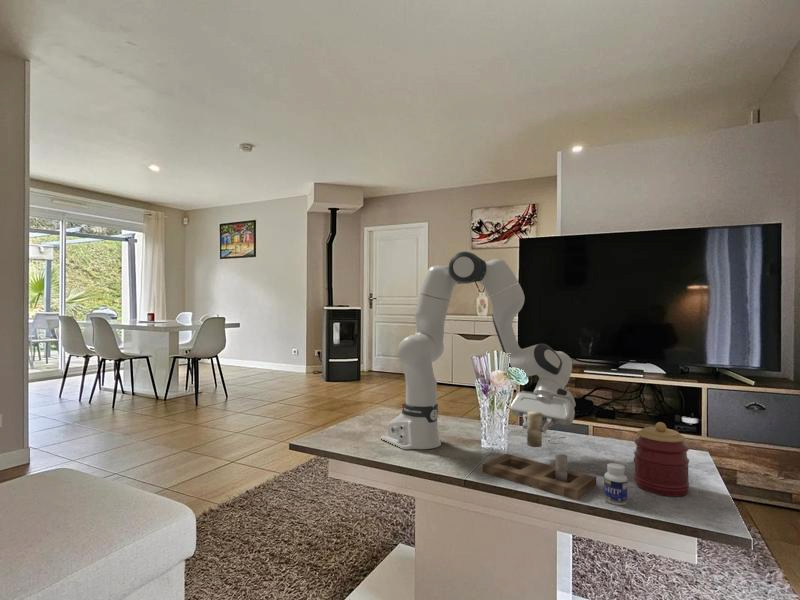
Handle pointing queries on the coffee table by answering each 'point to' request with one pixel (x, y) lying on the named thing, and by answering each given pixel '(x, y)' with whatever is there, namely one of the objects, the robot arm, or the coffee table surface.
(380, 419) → the coffee table surface
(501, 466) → the wooden peg holder
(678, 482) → the canister
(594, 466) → the coffee table surface
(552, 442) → the scissors
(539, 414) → the wooden peg
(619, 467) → the pill bottle
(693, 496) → the coffee table surface
